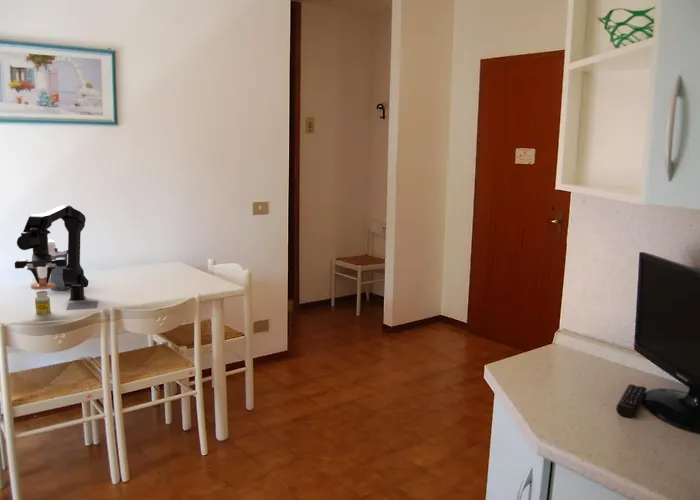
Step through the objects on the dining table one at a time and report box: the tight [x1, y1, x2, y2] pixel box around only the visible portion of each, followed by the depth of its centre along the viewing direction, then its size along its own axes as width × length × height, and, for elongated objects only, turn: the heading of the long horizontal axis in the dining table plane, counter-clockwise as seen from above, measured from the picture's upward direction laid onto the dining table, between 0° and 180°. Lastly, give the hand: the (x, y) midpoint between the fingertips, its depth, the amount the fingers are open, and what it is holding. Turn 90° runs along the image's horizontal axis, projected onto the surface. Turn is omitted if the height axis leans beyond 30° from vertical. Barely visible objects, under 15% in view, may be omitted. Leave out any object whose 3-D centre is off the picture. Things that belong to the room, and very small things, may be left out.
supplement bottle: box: [34, 290, 52, 316], centre depth 247 cm, size 5×5×10 cm
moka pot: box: [49, 247, 70, 291], centre depth 290 cm, size 10×15×20 cm, turn 158°
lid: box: [30, 277, 55, 291], centre depth 246 cm, size 9×9×4 cm
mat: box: [66, 300, 99, 311], centre depth 260 cm, size 12×12×1 cm
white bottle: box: [30, 236, 57, 285], centre depth 301 cm, size 12×11×25 cm
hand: (43, 283), depth 246 cm, fingers closed on lid, 3 cm apart
